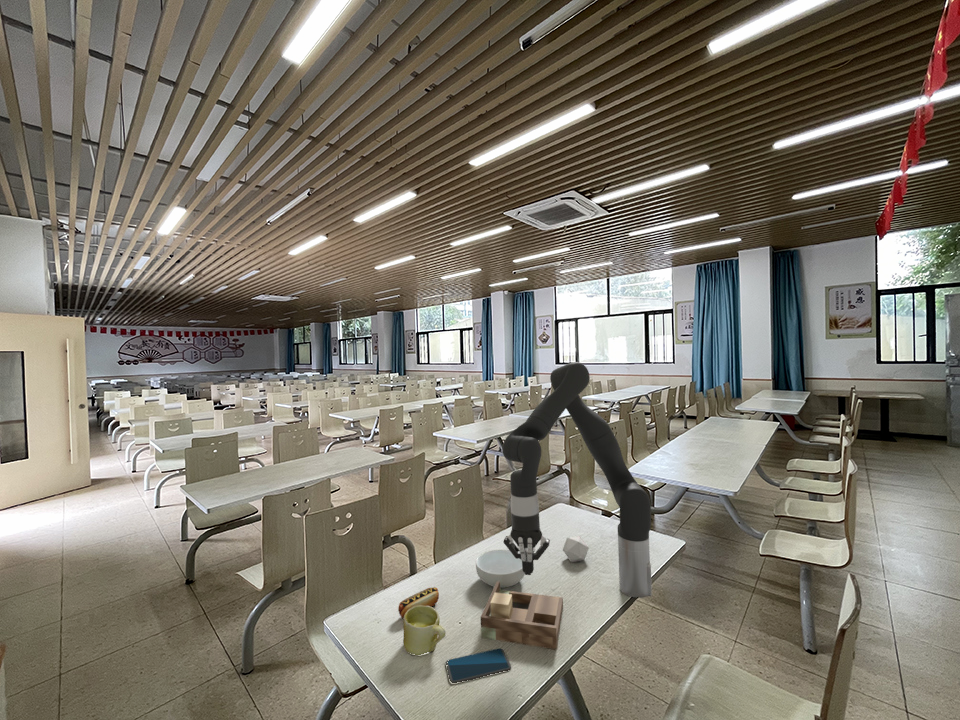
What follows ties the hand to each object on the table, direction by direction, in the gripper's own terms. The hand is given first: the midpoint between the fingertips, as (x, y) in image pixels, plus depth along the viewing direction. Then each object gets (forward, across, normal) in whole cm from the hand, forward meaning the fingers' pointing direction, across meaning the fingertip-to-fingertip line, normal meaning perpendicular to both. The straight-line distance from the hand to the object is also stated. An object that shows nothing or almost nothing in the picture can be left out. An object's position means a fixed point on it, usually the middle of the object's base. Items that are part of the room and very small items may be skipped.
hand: (528, 573), depth 113 cm
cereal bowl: (+16, +13, -23) cm, 31 cm away
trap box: (+16, +3, -4) cm, 17 cm away
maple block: (+13, +8, 0) cm, 15 cm away
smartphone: (+16, +11, +15) cm, 25 cm away
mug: (+16, +26, +12) cm, 33 cm away
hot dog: (+16, +34, -2) cm, 37 cm away
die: (+16, -10, -43) cm, 47 cm away
